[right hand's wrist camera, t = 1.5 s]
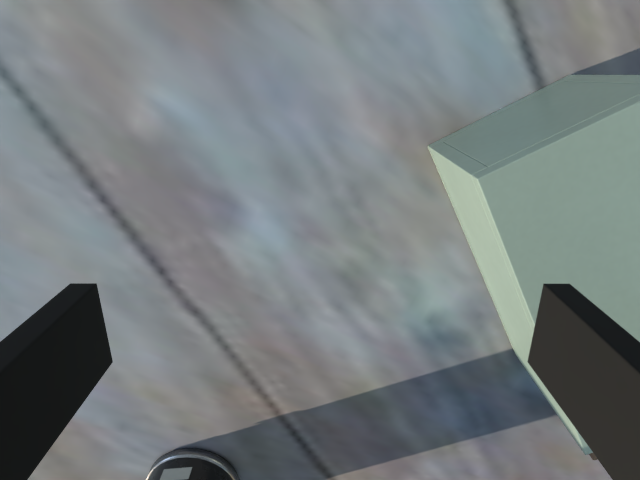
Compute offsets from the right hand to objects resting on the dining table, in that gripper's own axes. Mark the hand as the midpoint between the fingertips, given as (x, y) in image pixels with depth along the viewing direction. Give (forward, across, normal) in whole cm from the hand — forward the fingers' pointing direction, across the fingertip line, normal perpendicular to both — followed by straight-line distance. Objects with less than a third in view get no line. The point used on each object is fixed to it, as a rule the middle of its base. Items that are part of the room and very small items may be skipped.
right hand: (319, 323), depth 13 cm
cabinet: (+22, +18, -5) cm, 29 cm away
